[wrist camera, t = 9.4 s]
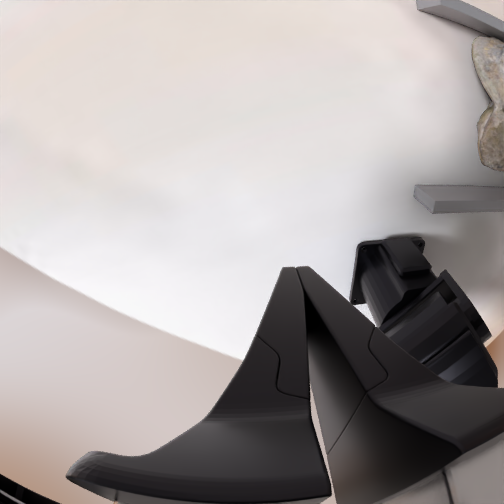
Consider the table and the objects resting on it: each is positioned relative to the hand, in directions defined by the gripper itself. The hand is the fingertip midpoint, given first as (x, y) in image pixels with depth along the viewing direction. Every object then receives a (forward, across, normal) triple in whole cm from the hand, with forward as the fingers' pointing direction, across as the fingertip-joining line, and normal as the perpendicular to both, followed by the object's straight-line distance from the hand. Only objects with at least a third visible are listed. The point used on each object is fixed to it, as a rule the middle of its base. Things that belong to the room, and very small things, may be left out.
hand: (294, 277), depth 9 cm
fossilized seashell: (+12, -19, -7) cm, 24 cm away
